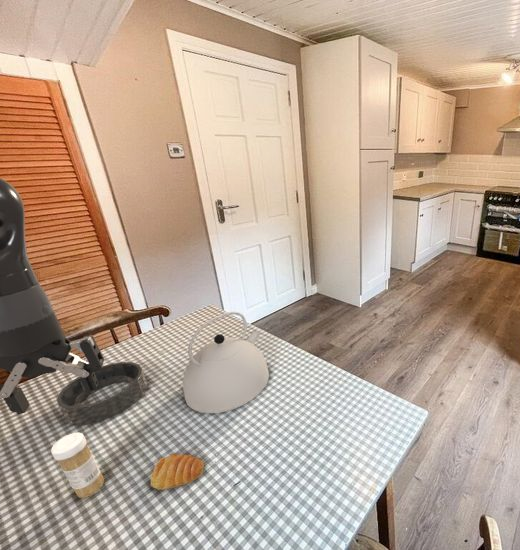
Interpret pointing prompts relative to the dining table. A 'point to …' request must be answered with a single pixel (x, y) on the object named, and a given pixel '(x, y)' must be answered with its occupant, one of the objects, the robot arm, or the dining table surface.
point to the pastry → (176, 471)
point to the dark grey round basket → (109, 407)
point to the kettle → (224, 372)
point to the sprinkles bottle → (78, 464)
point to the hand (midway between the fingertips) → (59, 400)
